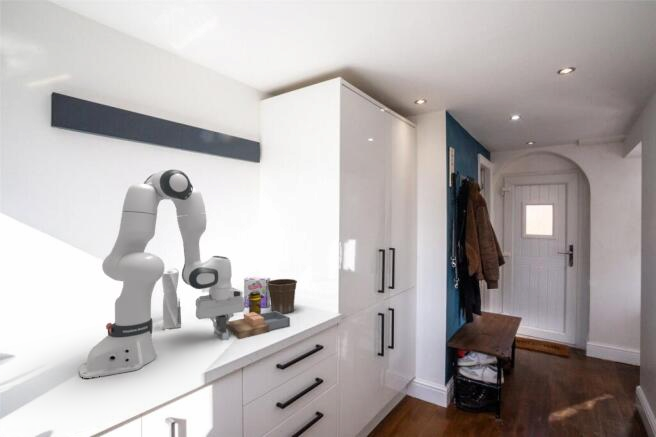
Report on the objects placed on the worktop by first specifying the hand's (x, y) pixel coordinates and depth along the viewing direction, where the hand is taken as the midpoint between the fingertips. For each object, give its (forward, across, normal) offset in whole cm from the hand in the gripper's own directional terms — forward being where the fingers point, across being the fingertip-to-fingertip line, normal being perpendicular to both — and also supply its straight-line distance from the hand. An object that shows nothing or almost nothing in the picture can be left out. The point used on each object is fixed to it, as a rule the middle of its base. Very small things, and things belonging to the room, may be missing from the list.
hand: (220, 325), depth 139 cm
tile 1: (+2, +15, +3) cm, 15 cm away
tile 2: (+2, +15, -3) cm, 15 cm away
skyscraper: (+5, -15, +25) cm, 30 cm away
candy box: (+5, +32, +34) cm, 47 cm away
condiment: (+5, +23, +19) cm, 30 cm away
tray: (+5, +24, 0) cm, 25 cm away
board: (+5, +12, 0) cm, 13 cm away
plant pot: (+5, +39, +17) cm, 43 cm away
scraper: (+5, 0, 0) cm, 5 cm away
